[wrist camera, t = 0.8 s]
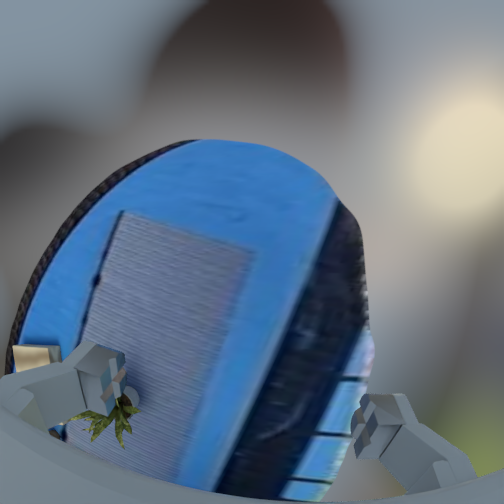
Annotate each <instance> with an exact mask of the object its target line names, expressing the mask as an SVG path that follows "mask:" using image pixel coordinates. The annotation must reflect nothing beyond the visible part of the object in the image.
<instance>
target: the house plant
mask: <svg viewBox="0 0 504 504" xmlns="http://www.w3.org/2000/svg"><path fill="white" fill-rule="evenodd" d="M115 403H116V405H115V406H114V408H113V410H112V411H111V413H110V414H109V416H108V417H107V416H105V415H102V414H99V413H96V412H94V411H91V410H89V411H85V412H82V413H80V414H78V415H76V416H74V417H72V418H70V419H68V420H78V419H82V418H85V417H89V418H87V419H85V420H92V424H91V426H90V428H88V429H83V430H89V433H90V431H91V430H94V432H93V435H92V437H91V442H92V441H93V440H95V439H96V438H97V437H98V436H99V435H100V433H101V432H102V431H103V430H104V429H105V428H106V427H107V426H108V425H109V424H110V423H111V422H112V421H113V419H115V420H116V423H115V433H116V437H117V439H118V441H119V443H120V445H121V446H122V447H123V448H124V445H123V440H122V432H123V430H124V429H125V430H126V431H127V432H129V433H130V434H132V429H131V426H130V424H129V422H128V421H127V420H129V419H130V418H131V417H132V416H133V414H135V413H138V412H142V411H140V410H138V409H137V406H138V404H139V395H138V393H137V391H136V390H135V389H134V388H132V387H130V386H126V387H125V390H124V392H123V394H122V395H121V396H120V397H118V398H116V399H115ZM90 416H91V417H90ZM101 419H102V420H101ZM99 420H101V421H99ZM98 421H99V422H98ZM97 422H98V423H97ZM94 425H95V428H93V427H94ZM124 450H125V448H124Z"/></svg>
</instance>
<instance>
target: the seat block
mask: <svg viewBox="0 0 504 504" xmlns="http://www.w3.org/2000/svg"><path fill="white" fill-rule="evenodd" d="M13 352H14V359H15V365H16V371H17V372H21V371H25V370H29V369H32V368H36V367H40V366H44V365H47V364H51V363H55V362H60V363H62V359H61V352H60V346H53V345H32V344H22V345H14V346H13ZM69 421H71V420H66V421H64V422H62V423H60V425H64V424H66V423H67V422H69Z"/></svg>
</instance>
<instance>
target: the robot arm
mask: <svg viewBox="0 0 504 504" xmlns="http://www.w3.org/2000/svg"><path fill="white" fill-rule="evenodd" d="M124 364H125V354H124V353H122V352H120V351H117V350H114V349H111V348H108V347H105V346H103V345H100V344H96V343H94V342H91V341H88V340H85V341H83V342H82V343H81V344H80V345H79V346H78V347H77V348H76V349H75V350H74V351H73V352H72V353H71V354H70V355H69V356H68V357H67V358H66V359H65V360H64V361H63V362H62V363H60V362H55V363H51V364H47V365H44V366H40V367H36V368H32V369H29V370H25V371H21V372H17V373H13V374H9V375H5V376H4V377H2V378H1V379H0V504H504V468H503V469H501V470H498V471H496V472H493V473H490V474H487V475H484V476H481V477H477V475H476V473H475V471H474V469H473V467H472V464H471V463H470V460H469V458H468V456H467V455H466V454H465V453H464V452H462V451H461V450H459V449H457V448H456V447H455V446H453V445H452V444H451V443H449V442H448V441H446V440H445V439H443V438H442V437H441V436H439V435H438V434H436V433H435V432H434V431H432V430H431V429H429V428H428V427H426V426H425V425H424V424H419V423H418V421H417V418H416V416H415V415H414V412H413V410H412V408H411V406H410V403H409V402H408V399H407V397H406V395H404V394H364V395H363V396H362V398H361V400H360V406H361V407H360V408H359V409H357V410H356V411H355V412H354V414H353V416H352V420H351V435H352V436H353V437H354V438H355V439H356V442H355V444H354V449H355V453H356V458H357V459H379V461H380V462H381V463H382V464H383V465H384V466H385V467H386V468H387V469H388V471H389V472H390V473H391V474H392V475H393V476H394V477H395V478H396V479H397V480H398V482H399V483H400V484H401V485H402V486H403V487H404V488H405V489H406V490H407V492H406V493H405V494H404V495H403V496H397V497H390V498H382V499H373V500H362V501H347V502H290V501H274V500H263V499H253V498H245V497H238V496H231V495H225V494H219V493H214V492H208V491H204V490H199V489H194V488H190V487H186V486H182V485H178V484H174V483H170V482H166V481H163V480H159V479H156V478H153V477H149V476H146V475H143V474H140V473H137V472H134V471H131V470H128V469H125V468H123V467H120V466H117V465H115V464H112V463H110V462H107V461H105V460H102V459H100V458H97V457H95V456H93V455H90V454H88V453H86V452H84V451H81V450H79V449H77V448H75V447H73V446H71V445H69V444H67V443H65V442H63V441H61V440H59V439H57V438H55V437H53V436H51V435H50V433H49V431H48V429H50V428H52V427H54V426H56V425H58V424H60V423H62V422H64V421H66V420H68V419H70V418H72V417H74V416H76V415H78V414H80V413H82V412H84V411H86V410H87V409H88V410H91V411H94V412H96V413H99V414H102V415H105V416H107V417H108V416H109V414H110V413H111V411H112V410H113V408H114V406H115V405H116V403H115V399H116V398H118V397H120V396H121V395H122V394H123V392H124V390H125V387H126V384H127V372H126V371H125V369H124V368H123V365H124Z"/></svg>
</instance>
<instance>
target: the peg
mask: <svg viewBox="0 0 504 504" xmlns="http://www.w3.org/2000/svg"><path fill="white" fill-rule="evenodd" d="M49 433H50V435H51V436H53V437H55V438H57V439H59V440H60V436H59V434H58V433H57V432H56V431H55V430H50V431H49Z"/></svg>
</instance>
